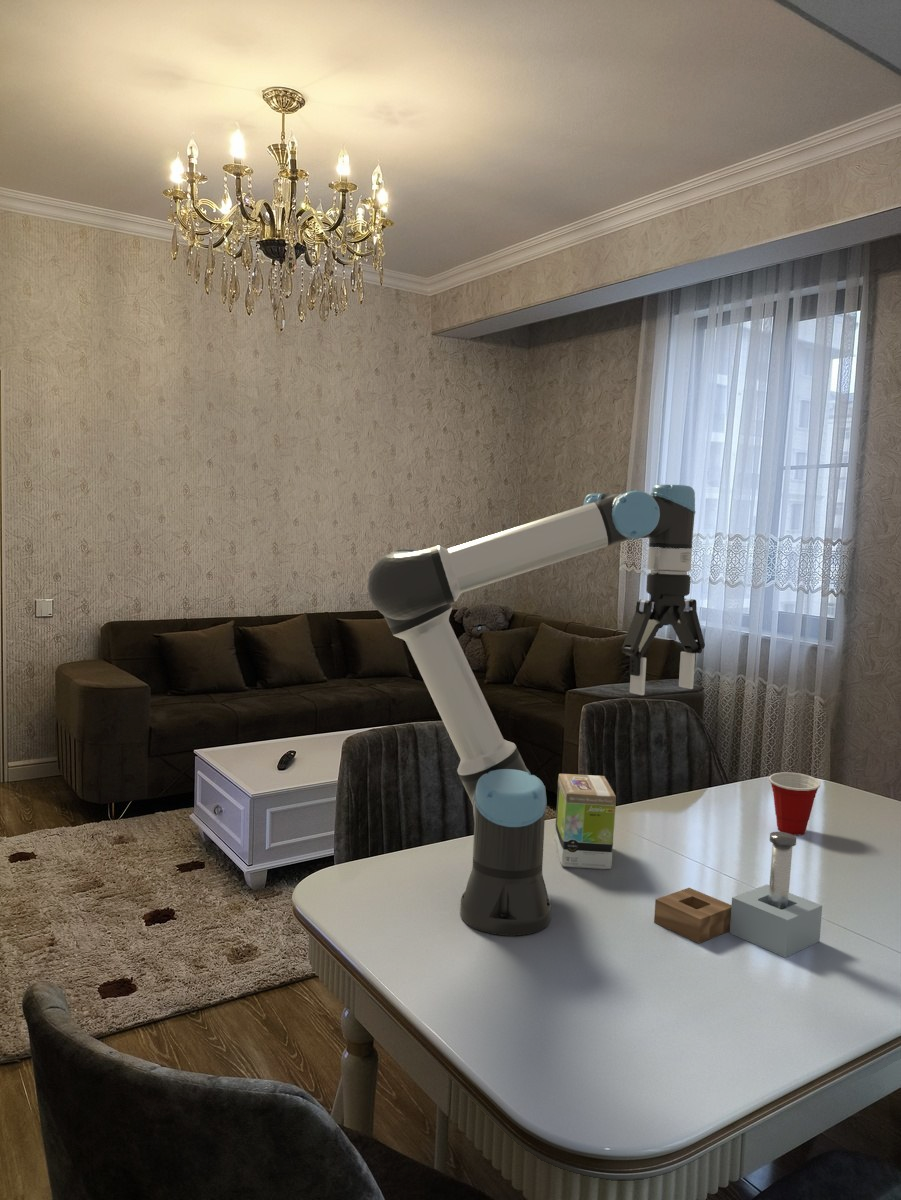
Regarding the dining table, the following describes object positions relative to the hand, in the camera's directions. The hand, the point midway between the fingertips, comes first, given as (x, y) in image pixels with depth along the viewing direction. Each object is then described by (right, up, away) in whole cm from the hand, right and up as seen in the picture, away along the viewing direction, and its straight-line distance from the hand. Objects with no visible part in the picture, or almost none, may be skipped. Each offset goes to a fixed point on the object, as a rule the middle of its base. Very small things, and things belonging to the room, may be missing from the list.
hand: (662, 690), depth 159 cm
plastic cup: (+38, -35, +39) cm, 65 cm away
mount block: (+2, -38, -12) cm, 40 cm away
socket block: (+15, -39, -15) cm, 44 cm away
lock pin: (+15, -39, -15) cm, 44 cm away
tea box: (-11, -35, +19) cm, 42 cm away
